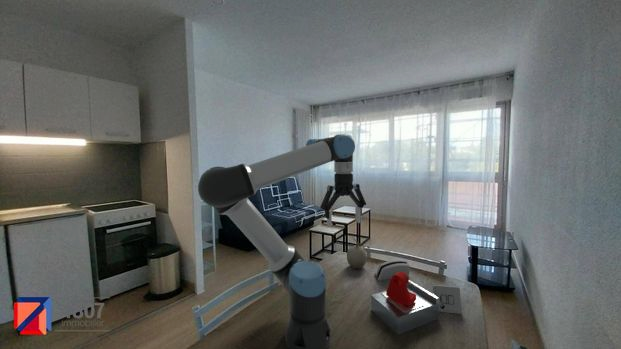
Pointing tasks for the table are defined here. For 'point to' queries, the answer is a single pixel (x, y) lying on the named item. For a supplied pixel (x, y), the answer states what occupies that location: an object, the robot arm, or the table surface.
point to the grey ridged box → (406, 309)
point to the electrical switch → (448, 298)
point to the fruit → (356, 256)
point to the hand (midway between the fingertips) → (344, 224)
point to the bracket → (400, 289)
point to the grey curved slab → (392, 269)
